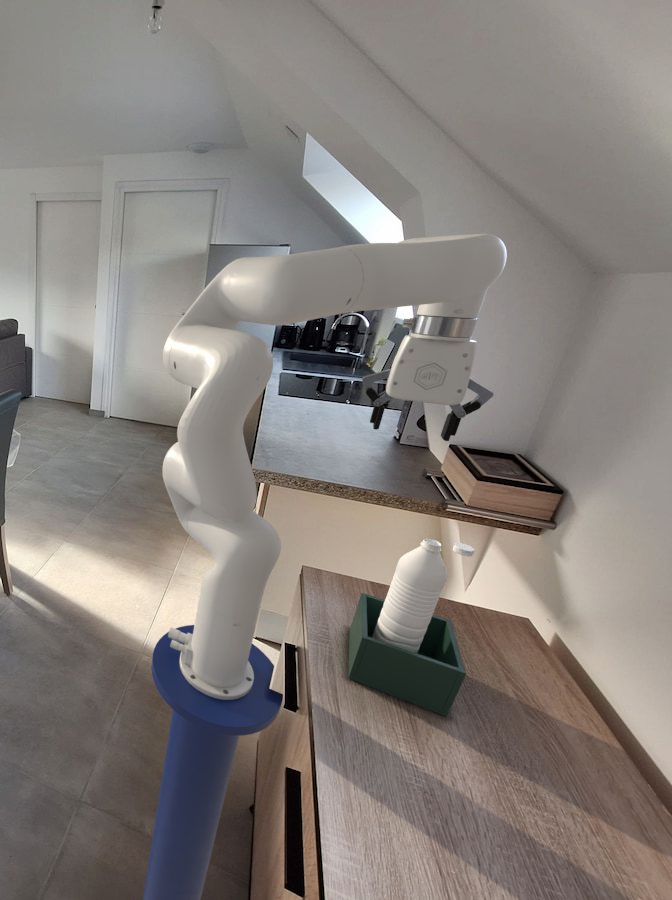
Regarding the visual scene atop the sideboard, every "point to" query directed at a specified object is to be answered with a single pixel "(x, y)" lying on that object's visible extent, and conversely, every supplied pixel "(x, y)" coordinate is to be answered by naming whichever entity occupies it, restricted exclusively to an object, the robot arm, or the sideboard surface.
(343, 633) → the sideboard surface
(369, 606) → the tote
